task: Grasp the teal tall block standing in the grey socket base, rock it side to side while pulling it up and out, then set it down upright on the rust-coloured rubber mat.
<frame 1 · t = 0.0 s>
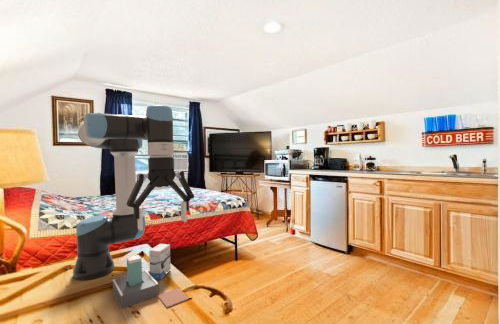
hand: (163, 225, 80), 28 cm above the table, fingers open, 13 cm apart
grey socket base: (135, 293, 94), on the table
teal tall block: (134, 275, 94), in the grey socket base
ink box: (160, 275, 108), on the table
mat: (174, 297, 91), on the table
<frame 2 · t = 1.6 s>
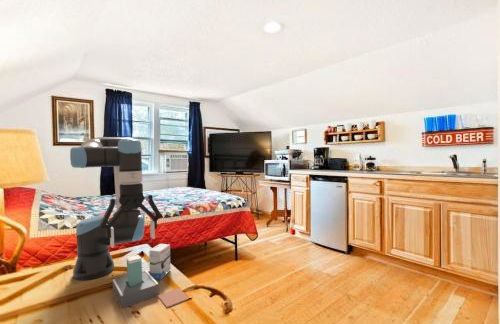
hand: (133, 242, 93), 19 cm above the table, fingers open, 13 cm apart
nothing on the table moved.
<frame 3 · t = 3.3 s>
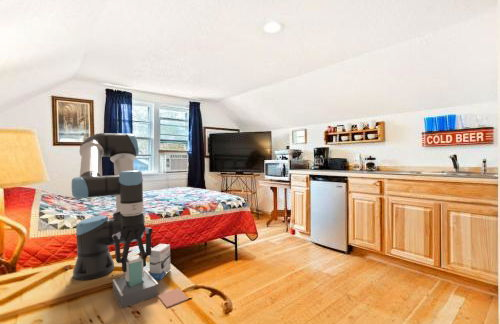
hand: (134, 277, 94), 6 cm above the table, fingers closed on teal tall block, 4 cm apart
teal tall block: (134, 275, 94), in the grey socket base, touching gripper
everything else where it was.
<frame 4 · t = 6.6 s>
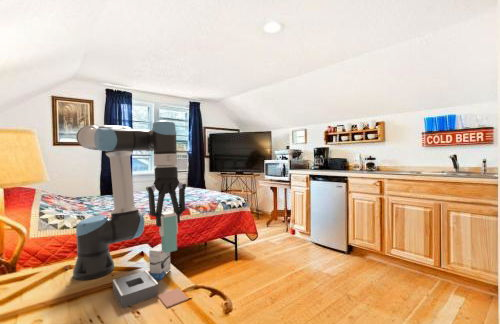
hand: (168, 233, 90), 22 cm above the table, fingers closed on teal tall block, 4 cm apart
teal tall block: (168, 231, 90), point 23 cm above the table, touching gripper
everything else where it was.
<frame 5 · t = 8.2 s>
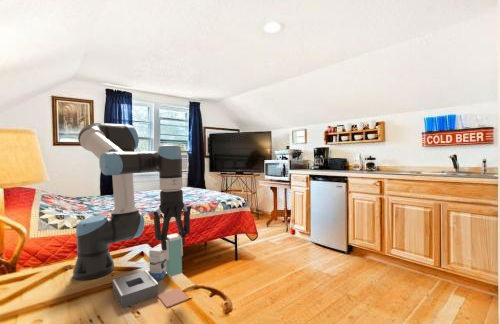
hand: (173, 256, 90), 14 cm above the table, fingers closed on teal tall block, 4 cm apart
teal tall block: (173, 254, 90), point 15 cm above the table, touching gripper
everything else where it was.
when the fingers open (7 cm above the table, at t = 9.8 s): teal tall block stays where it is, resting on mat.
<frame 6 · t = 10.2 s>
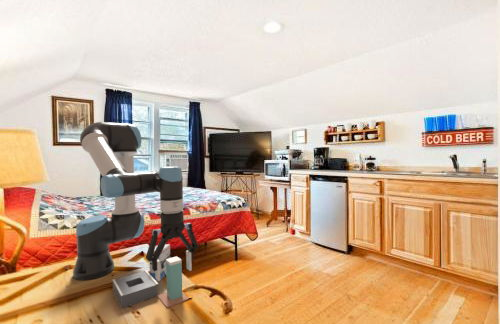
hand: (174, 274, 90), 8 cm above the table, fingers open, 10 cm apart
teal tall block: (174, 277, 90), on the mat
everything else where it was.
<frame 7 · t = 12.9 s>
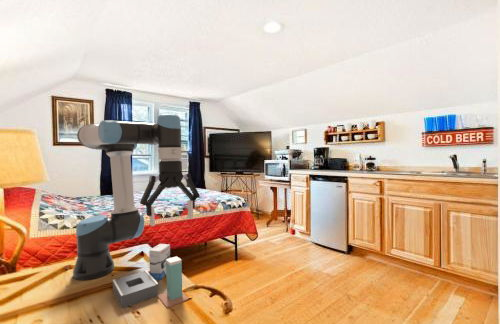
hand: (172, 221, 90), 27 cm above the table, fingers open, 13 cm apart
nothing on the table moved.
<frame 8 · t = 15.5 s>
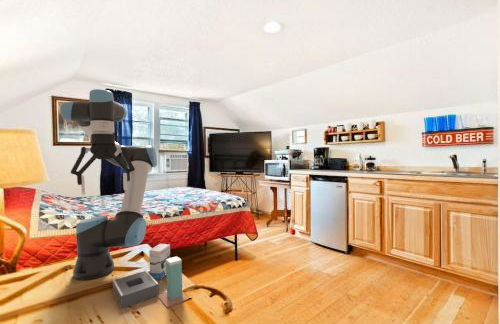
hand: (105, 192, 95), 37 cm above the table, fingers open, 13 cm apart
nothing on the table moved.
at the end: teal tall block inside the target area on the mat (0.0 cm from its centre), point 6.9 cm above the mat's base; teal tall block tilted 0°; teal tall block touching mat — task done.
